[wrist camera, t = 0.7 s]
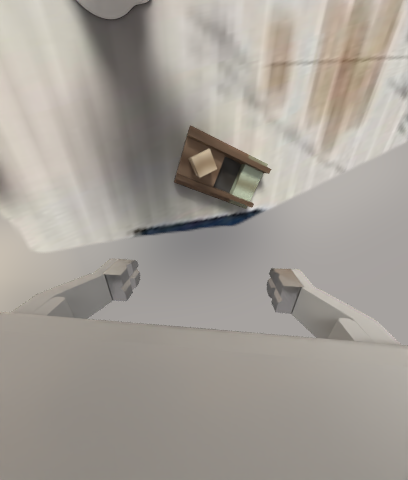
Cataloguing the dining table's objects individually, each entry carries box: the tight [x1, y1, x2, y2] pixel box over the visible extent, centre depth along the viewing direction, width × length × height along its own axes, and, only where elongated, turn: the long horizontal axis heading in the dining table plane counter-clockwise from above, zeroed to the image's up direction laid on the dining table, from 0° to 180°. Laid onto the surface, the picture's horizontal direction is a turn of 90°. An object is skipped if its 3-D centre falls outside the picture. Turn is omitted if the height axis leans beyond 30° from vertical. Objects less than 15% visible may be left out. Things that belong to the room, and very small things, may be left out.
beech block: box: [188, 149, 217, 178], centre depth 39 cm, size 4×4×8 cm
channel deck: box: [174, 125, 271, 209], centre depth 44 cm, size 14×24×6 cm, turn 69°
